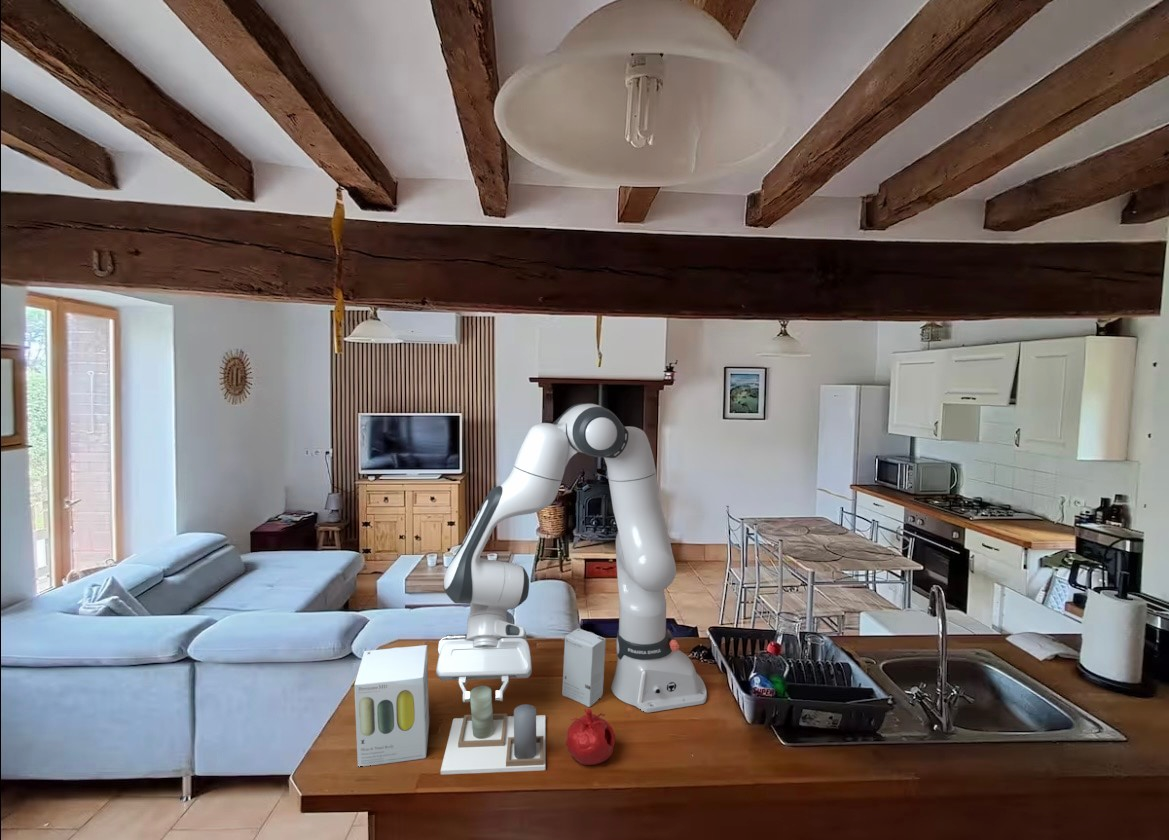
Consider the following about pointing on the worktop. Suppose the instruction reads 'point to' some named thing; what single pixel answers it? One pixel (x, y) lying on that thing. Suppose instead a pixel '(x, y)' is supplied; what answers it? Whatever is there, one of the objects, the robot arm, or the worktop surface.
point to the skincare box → (583, 666)
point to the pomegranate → (590, 739)
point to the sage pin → (481, 712)
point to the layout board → (497, 744)
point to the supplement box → (392, 705)
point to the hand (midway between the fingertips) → (482, 701)
